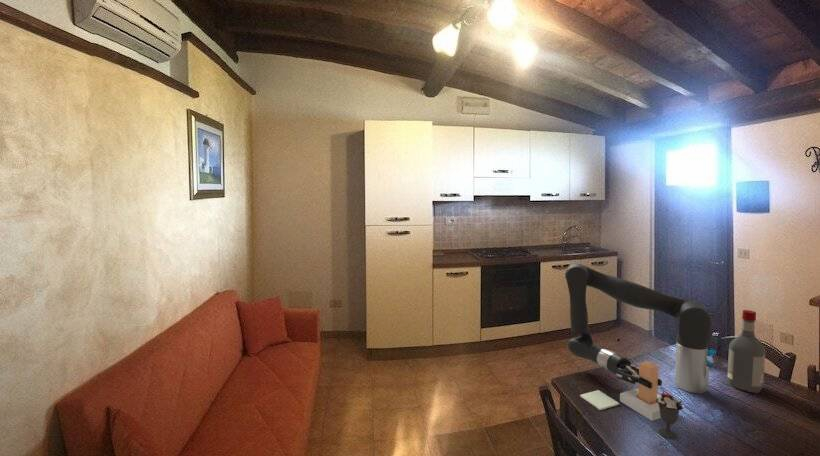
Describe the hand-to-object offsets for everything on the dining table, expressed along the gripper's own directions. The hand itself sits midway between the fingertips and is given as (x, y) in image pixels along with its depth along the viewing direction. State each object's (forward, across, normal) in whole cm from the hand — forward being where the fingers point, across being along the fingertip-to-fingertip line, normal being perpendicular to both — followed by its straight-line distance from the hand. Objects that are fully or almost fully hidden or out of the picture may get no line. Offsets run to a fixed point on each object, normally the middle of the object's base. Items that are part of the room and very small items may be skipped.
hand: (656, 384), depth 118 cm
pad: (-12, -13, +10) cm, 20 cm away
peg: (-3, 0, +9) cm, 9 cm away
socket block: (-3, 0, +10) cm, 10 cm away
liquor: (+1, +46, +10) cm, 48 cm away
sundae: (+9, -7, +10) cm, 16 cm away
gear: (-17, +52, +10) cm, 55 cm away
